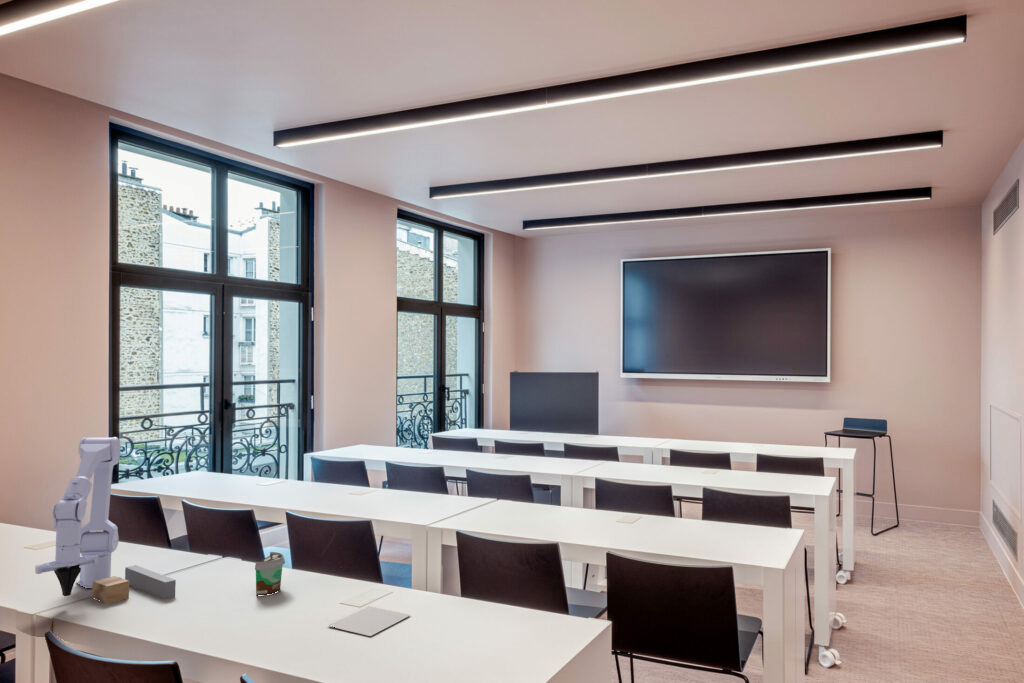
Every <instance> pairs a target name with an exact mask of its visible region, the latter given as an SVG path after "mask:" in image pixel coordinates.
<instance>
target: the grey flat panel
mask: <svg viewBox="0 0 1024 683" xmlns="http://www.w3.org/2000/svg"><path fill="white" fill-rule="evenodd" d="M410 616H411V614H407V613H403V612H398V611H395V610H394V611H393V610H391V609H384V608H380V607H375V606H371V605H369V606H367V607H366V606H365V608H362V609H360V610H357V611H356V612H354V613H353V612H352V613H351V614H348V616H345V617H342V618H341V619H337V621H336V620H335V621H333V622H332V623H330V624H329V625H330V626H329V627H330V628H334V626H335V629H339V630H342V631H347V632H351V633H355V634H360V635H364V636H367V637H368V636H369V637H372V636H374V635H376V634H377V633H379V632H381V631H383V630H385V629H388V628H390V627H391V626H392V625H395V624H398V623H399V622H401V621H402V620H404V619H406V618H408V617H410ZM331 625H332V626H333V625H334V626H333V627H332V626H331Z"/></svg>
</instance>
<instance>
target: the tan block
mask: <svg viewBox="0 0 1024 683" xmlns="http://www.w3.org/2000/svg"><path fill="white" fill-rule="evenodd" d="M91 596H92V597H91V598H95V599H97V600H100V601H102V602H101V603H103V602H105V603H104V604H106V603H109V604H112V603H111V602H113V603H115V601H116V602H119V601H118V600H120V601H123V599H124V600H127V599H129V597H130V585H129V581H128V580H125V578H122V577H118V576H115V575H114V576H111V577H109V578H104V579H100V580H96V581H93V588H92V593H91ZM95 599H94V600H95ZM97 600H96V601H97ZM100 601H99V602H100Z"/></svg>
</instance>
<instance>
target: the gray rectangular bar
mask: <svg viewBox="0 0 1024 683" xmlns="http://www.w3.org/2000/svg"><path fill="white" fill-rule="evenodd" d="M124 569H125V570H124V579H125V580H128V581H129V584H130V585H129V586H131V585H132V586H131V587H133V586H134V587H133V588H135V587H136V589H138V588H139V589H138V590H140V589H141V590H140V591H143V590H144V591H143V592H146V593H147V594H150V593H151V595H153V596H156V597H158V598H159V599H163V600H168V599H172V598H175V597H176V579H174V578H171V577H170V576H169V577H168V576H167V575H163V574H161V573H158V572H156V571H153V570H150V569H147V568H144V567H142V566H138V565H136V564H135V565H134V564H133V565H129V566H126V567H125V568H124Z"/></svg>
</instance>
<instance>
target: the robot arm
mask: <svg viewBox="0 0 1024 683" xmlns="http://www.w3.org/2000/svg"><path fill="white" fill-rule="evenodd" d="M121 448H122V446H121V441H120V439H119V438H118V437H117V436H113V437H87V436H85V437H83V438H82V439H80V441H79V444H78V455H79V459H80V462H79V466H78V470H77V472H76V476H75V477H73V478H71V479H70V480H69V481H68V485H67V486H66V489H65V491H64V493H63V495H62V498H61V499H60V500H59V501H58V502H55V504H54V506H53V509H52V519H53V522H54V524H53V526H54V529H56V530H55V531H56V532H55V534H56V536H55V559H54V561H49V562H46V563H42V564H36V565H35V566H34V568H35V570H34V572H35V574H36V575H40V574H42V573H49V572H54V574H55V576H56V578H57V579H58V583H59V585H60V588H61V592H62V593H61V595H62V596H64V597H69V596H72V595H71V594H72V591H73V588H74V584H75V583H76V584H77V583H78V584H77V585H79V584H80V585H79V586H81V587H82V586H83V587H82V588H84V587H85V588H84V589H86V588H90V589H93V581H96V580H100V579H104V578H109V577H112V573H111V572H112V553H114V552H115V551H116V550H117V548H118V545H119V540H120V539H119V532H118V531H119V529H118V525H116V524H115V523H113V522H112V521H111V520H109V518H110V517H109V516H110V505H111V504H110V502H111V490H112V481H113V480H112V479H113V470H114V466H115V465H117V464H119V463H120V458H121ZM92 477H93V483H92V481H91V480H92ZM91 489H92V494H91V495H92V496H91V505H90V506H91V507H90V514H89V516H90V517H89V522H87V523H86V524H84V525H83V526H82V521H83V520H84V518H85V516H86V510H87V504H88V502H87V500H88V497H89V495H90V492H91ZM78 577H79V580H77V578H78Z"/></svg>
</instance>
